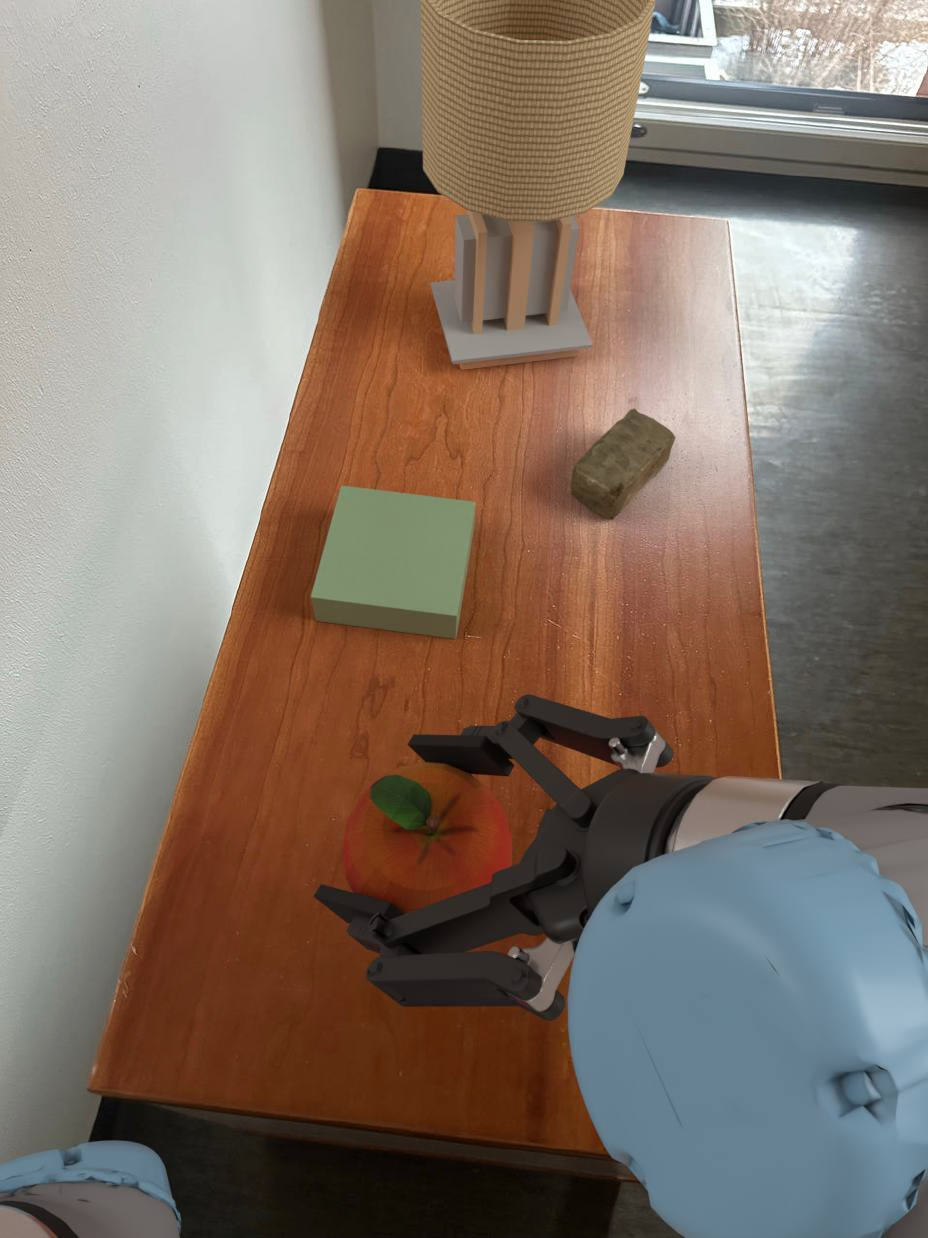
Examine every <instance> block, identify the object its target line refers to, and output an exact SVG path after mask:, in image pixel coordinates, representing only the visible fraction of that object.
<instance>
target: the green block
mask: <svg viewBox="0 0 928 1238" xmlns="http://www.w3.org/2000/svg"><path fill="white" fill-rule="evenodd" d="M338 491H339V492H338V496H337V499H336V501H335V505H334V511H333V513H332V517H331V520H330V524H329V528H328V531H327V534H326V535H327V536H326V538H325V539H326V540H325V543H324V545H323V550H322V554H321V557H320V561H319V564H318V569H317V572H316V576H315V579H314V583H313V587H312V590H311V593H310V600H311V605H312V609H313V615H314V619H315V622H322V623H328V624H329V623H330V624H336V625H343V626H344V625H345V626H351V627H352V626H353V627H359V628H360V627H361V628H366V629H375V630H383V631H390V632H398V633H405V634H412V635H421V636H429V637H436V638H443V639H444V638H445V639H451V640H452V639H453V640H456V639H457V637H458V632H459V631H458V629H459V624H460V620H461V618H460V617H461V613H462V606H463V600H464V593H465V588H466V582H467V576H468V570H469V563H470V558H471V551H472V545H473V538H474V532H475V525H476V524H475V521H476V508H477V507H476V506H477V501H474V500H473V501H472V500H464V499H458V498H457V499H456V498H447V497H439V496H432V495H424V494H416V493H407V492H399V491H390V490H382V489H375V488H366V487H359V486H358V487H357V486H349V485H340V488H339V490H338Z"/></svg>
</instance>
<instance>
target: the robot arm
mask: <svg viewBox="0 0 928 1238" xmlns="http://www.w3.org/2000/svg"><path fill="white" fill-rule="evenodd" d="M513 708H514V711H515V714H514V715H513V716H512V717H511V718H510V719H509V720H502V721H500V722H497V724H496V725H469V726H466V727H464V728H463V729H462V730H461V732H460V734H419V733H417V734H413V735H412V736H411V738H410V739H409V741H408V743H407V746H408V748H410V749H411V750H412V751H413V752H414V753H415V754H416V755H417V756H419V758H421V760H423V762H429V763H441V764H447V765H450V766H452V767H455V768H457V769H460V770H462V771H465V772H467V773H470V774H471V775H478V776H479V775H480V776H492V777H493V776H495V777H510V775H511V773H512V771H513V769H514V767H515V766H516V765H515V764H514V763H513V762H512V761H511V760H514V761H515V762H516V763H517V764H518V765H519V766H520V767H521V768H522V770H523V771H525V772H526V773H527V774H528V776H529V777H530V778H531V779H532V780H533V781H534V782H535V783H536V784H537V785H538V786H539V787H540V788H541V789H542V790H543V791H544V792H545V793H546V794H547V796H549V797H550V798H551V799H552V800H553V802H555V805H554V806H553V807H552V808H546V809H545V811H544V814H543V815H542V817H541V819H540V822H539V824H538V828H537V832H536V835H535V837H534V839H533V840H532V842H531V843H530V845H529V846H528V847H527V849H526V850H525V851H524V853H523V855H522V857H521V859H520V861H519V863H516V864H514V865H513V864H512V866H511V867H508V868H505V869H503V870H500V871H497V872H495V873H494V874H493V875H492V882H490V883H488V884H485V885H482V886H480V887H477V888H474V889H472V890H469V891H466V892H464V893H461V894H458V895H455V896H453V897H450V898H447V899H445V900H442V901H439V902H436V903H434V904H431V905H428V906H426V907H423V908H420V909H417V910H415V911H412V912H409V913H407V914H404V913H403V912H402V911H401V910H400V909H398V908H397V907H396V906H395V905H393V904H392V903H391V902H388V901H384V900H380V899H376V898H372V897H368V896H365V895H361V894H357V893H353V891H349V890H345V889H341V888H338V887H334V886H330V885H326V884H322V883H321V884H320V885H319V887H318V888H317V890H316V892H315V893H314V894H313V896H312V897H313V898H314V899H316V900H317V901H318V902H319V903H321V904H322V905H323V906H324V907H326V908H327V909H329V910H330V911H331V912H332V913H334V914H335V916H338V918H340V919H341V920H342V921H344V922H345V923H347V924H349V925H348V926H347V928H346V932H347V934H348V935H349V937H351V938H352V939H353V940H355V941H356V942H357V943H359V944H360V945H361V946H363V948H365V949H366V950H367V951H371V952H374V953H376V954H379V956H377V957H376V958H374V959H373V960H372V961H371V962H370V963H369V965H368V967H367V968H366V972H365V979H366V980H367V982H369V983H370V984H372V985H373V986H375V987H376V988H377V989H378V990H380V991H381V992H382V993H384V994H385V995H387V997H389V998H390V999H392V1000H393V1001H394V1002H395V1003H397V1004H398V1005H400V1006H401V1007H404V1008H411V1007H412V1008H413V1007H414V1008H420V1007H421V1008H422V1007H423V1008H427V1007H429V1008H431V1007H433V1008H435V1007H436V1008H438V1007H439V1008H440V1007H442V1008H443V1007H444V1008H445V1007H446V1008H447V1007H448V1008H449V1007H451V1008H452V1007H453V1008H454V1007H455V1008H456V1007H461V1008H462V1007H466V1008H467V1007H468V1008H469V1007H470V1008H471V1007H472V1008H473V1007H519V1008H521V1009H523V1010H525V1011H527V1012H530V1013H531V1014H532V1015H535V1016H536V1017H538V1018H541V1019H543V1020H545V1021H547V1022H551V1021H555V1020H556V1019H558V1018H559V1017H560V1016H561V1015H562V1014H563V1012H564V1010H565V1007H566V998H565V996H564V995H563V994H562V993H561V992H560V991H559V990H558V989H557V988H558V987H559V986H560V983H561V982H562V980H563V978H564V976H565V974H566V972H567V970H568V968H569V967H570V965H571V963H572V965H571V970H570V974H569V975H570V976H569V984H568V993H567V1030H568V1041H569V1048H570V1055H571V1060H572V1064H573V1069H574V1073H575V1077H576V1080H577V1084H578V1089H579V1090H580V1093H581V1097H582V1099H583V1102H584V1105H585V1107H586V1110H587V1112H588V1115H589V1117H590V1119H591V1122H592V1125H593V1126H594V1128H595V1131H596V1133H597V1135H598V1137H599V1139H600V1141H601V1142H602V1144H603V1147H604V1149H605V1150H606V1152H607V1153H608V1154H609V1156H610V1157H611V1159H613V1160H615V1161H617V1162H619V1163H621V1164H623V1165H625V1166H626V1167H627V1168H628V1169H629V1170H630V1171H631V1172H632V1174H633V1175H634V1176H635V1177H636V1179H637V1180H638V1181H639V1182H640V1184H641V1185H642V1186H643V1187H644V1189H645V1190H646V1191H647V1193H648V1199H649V1205H650V1208H651V1209H652V1210H653V1211H654V1212H655V1213H656V1214H657V1215H658V1216H659V1217H660V1218H661V1220H663V1221H664V1222H665V1223H666V1224H667V1225H668V1226H669V1227H671V1229H673V1230H674V1231H675V1232H676V1233H677V1234H679V1235H680V1236H682V1237H684V1238H928V787H926V788H925V787H899V786H898V787H896V786H895V787H894V786H893V787H892V786H867V785H866V786H861V785H860V786H859V785H850V784H843V783H833V782H832V783H831V782H824V781H818V780H804V779H803V780H800V779H783V778H769V777H754V776H738V775H737V776H735V775H726V776H723V777H719V778H717V777H715V776H711V775H704V774H702V775H701V774H686V773H683V774H682V773H669V772H668V773H666V772H655V771H656V769H658V768H663V767H665V766H667V765H669V763H671V762H672V760H673V758H674V755H675V752H674V750H673V748H672V747H671V746H670V744H669V743H668V742H667V741H666V739H664V737H663V736H662V735H661V734H660V732H659V731H658V730H657V729H656V727H655V726H654V725H653V724H652V723H651V721H650V720H649V719H648V718H647V717H646V716H645V715H635V716H626V717H625V716H624V717H615V718H610V717H607V716H603V715H600V714H597V713H595V712H591V711H587V710H584V709H580V708H578V707H577V708H576V707H574V706H570V705H567V704H563V703H561V702H557V701H553V700H550V699H546V698H543V697H540V696H536V695H533V694H529V693H527V694H524V695H522V696H520V697H519V698H518V699H517V700H516V702H515V703H514V706H513ZM539 739H542V740H546V741H547V742H550V743H554V744H556V745H559V746H561V747H564V748H567V749H570V750H573V751H575V752H578V753H581V754H584V755H585V756H589V757H592V758H594V759H597V760H600V761H603V762H605V763H608V764H611V765H614V766H616V767H619V769H617V770H615V771H613V772H611V773H609V774H607V775H605V776H603V777H602V778H599V779H598V780H596V781H594V782H592V783H591V784H588V785H586V786H585V787H583V788H580V787H579V786H578V785H576V783H574V782H573V780H572V779H570V777H568V776H567V775H566V774H565V773H564V772H563V771H562V770H561V769H560V768H559V767H558V766H556V765H555V764H554V763H553V762H552V761H551V760H549V758H547V756H545V755H544V753H542V752H541V751H540V750H539V749H538V748H537V747H536V746H535V744H536V743H537V742H538V740H539ZM520 934H524V935H527V936H531V937H536V936H541V935H543V934H544V935H545V936H546V937H545V938H544V940H543V941H542V942H541V943H540V944H539V945H537V946H534V947H524V948H520V947H519V946H518V945H514V946H512V947H510V949H508V952H507V954H505V953H503V952H499V951H494V950H479V951H477V950H476V951H472V950H475V949H477V948H481V947H484V946H486V945H490V944H493V943H497V942H499V941H502V940H504V939H507V938H508V939H509V938H511V937H514V936H517V935H520ZM180 1212H181V1211H180V1209H179V1206H178V1205H176V1201H175V1199H174V1198H173V1195H172V1190H171V1186H170V1182H169V1178H168V1173H167V1169H166V1166H165V1164H164V1162H163V1160H162V1159H161V1157H160V1156H159V1154H157V1152H156V1151H154V1149H153V1148H150V1147H149V1146H147V1145H144V1144H142V1143H139V1142H134V1141H129V1140H97V1141H90V1142H88V1141H87V1142H83V1143H78V1144H77V1145H74V1146H72V1147H70V1148H67V1149H66V1150H65V1149H64V1150H63V1149H59V1148H54V1149H47V1150H43V1151H39V1152H35V1153H31V1154H28V1155H25V1156H20V1157H18V1158H15V1159H12V1160H9V1161H6V1162H3V1163H0V1238H181V1237H180V1235H181V1234H182V1233H181V1231H182V1219H181V1213H180Z"/></svg>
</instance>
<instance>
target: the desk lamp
mask: <svg viewBox="0 0 928 1238" xmlns="http://www.w3.org/2000/svg"><path fill="white" fill-rule="evenodd" d="M656 1H657V0H420V23H421V25H420V26H421V27H420V28H421V29H420V30H421V33H420V35H421V37H420V38H421V108H422V111H421V112H422V170H423V172H424V174H425V175H426V177H427V178H428V180H429V181H430V183H431V184H432V186H433V187H434V189H435V190H436V191H437V193H439V194H440V195H442V196H443V197H444V198H447V199H448V200H450V201H451V202H453V203H455V205H457V206H459V207H461V208H463V209H464V210H466V214H459V215H455V242H454V243H455V244H454V279H453V280H443V281H441V280H440V281H434V282H430V288H431V291H432V295H433V299H434V303H435V306H436V309H437V313H438V317H439V320H440V321H439V322H440V324H441V328H442V332H443V336H444V339H445V342H446V346H447V350H448V354H449V357H450V360H451V364H452V365H459V368H460V370H461V371H462V370H472V369H479V368H490V367H496V366H497V367H498V366H506V365H514V364H524V363H531V362H539V361H540V362H541V361H549V360H556V359H557V360H558V359H565V358H573V357H574V358H575V357H578V351H579V350H589V349H593V346H594V344H593V342H592V339H591V337H590V334H589V332H588V329H587V327H586V324H585V322H584V320H583V319H584V318H583V316H582V314H581V312H580V309H579V307H578V305H577V302H576V299H575V297H574V294H573V292H572V290H571V288H572V280H573V276H574V270H575V269H574V268H575V263H576V262H575V261H576V256H577V255H576V254H577V249H578V242H579V235H580V229H581V228H580V227H579V224H578V221H577V219H576V217H575V216H578V215H583V214H586V213H587V212H589V211H590V210H592V209H594V208H595V207H597V206H598V205H600V204H602V203H603V202H605V201H607V200H608V199H610V198H611V197H612V196H613V194H614V192H615V191H616V189H617V187H618V185H619V184H620V182H621V180H622V179H623V177H624V173H625V169H626V168H625V167H626V163H627V162H626V161H627V157H628V152H629V146H630V141H631V136H632V130H633V124H634V119H635V115H636V114H635V113H636V108H637V103H638V98H639V92H640V87H641V83H642V82H641V81H642V77H643V71H644V66H645V60H646V54H647V50H648V44H649V39H650V33H651V27H652V23H653V19H654V11H655V6H656Z"/></svg>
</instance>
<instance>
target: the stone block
mask: <svg viewBox="0 0 928 1238" xmlns="http://www.w3.org/2000/svg"><path fill="white" fill-rule="evenodd" d="M676 438H677V436H675V434H674V432H673V431H672V430H671V429H669V428H668V427H666V426H665V425H664V424H662V423H661V422H659V421H658V420H656V419H655V418H653V417H650V416H649V415H646V414H645V413H641V412H638V411H637V409H636V408H632V409H629V410H628V412H627V413H626V414H625V415H624V416H623V417H622V418H621V419H619V420H617V421H616V422H615V423H614V424H613V425H612V427H610V429H608V430H607V431H606V432H605V433H604V434H603V435H602V436H601V437H600V438H599V439H597V440H596V441H595V443H593V445H592V446H590V448H589V449H588V450H587V451H586V452H585V453H584V454H583V455H582V456H581V457H580V458H579V459H578V460H577V461H576V462H575V463H574V466H573V469H572V473H571V478H570V479H571V480H570V495H571V496H573V497H574V498H575V499H576V500H578V501H579V502H580V503H582V504H583V505H584V506H586V507H587V508H589V509H590V510H591V511H592V512H594V513H595V514H597V515H599V516H601V517H603V518H604V519H608V520H612V521H614V519H615V518H617V516H618V515H619V514H620V513H621V512H622V511H623V509H625V508H626V506H628V504H629V503H630V502H631V501H632V500H633V499H634V498H635V497H636V496H637V495H638V493H639V492H640V491H641V490H642V489H643V488H645V487H646V486H647V484H648V483H649V482H650V481H651V480H652V479H654V478H655V477H657V475H658V474H659V473H660V472H661V471H662V470H663V469H664V467H665V465H666V464H667V463H668V462H669V460H670V455H671V451H672V448H673V446H674V444H675V441H676Z"/></svg>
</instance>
